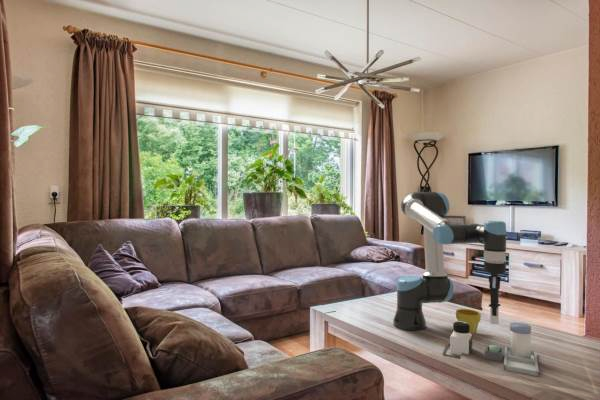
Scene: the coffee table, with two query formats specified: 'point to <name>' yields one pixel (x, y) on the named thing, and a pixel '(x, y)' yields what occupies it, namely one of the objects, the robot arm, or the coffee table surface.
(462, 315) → the plant pot
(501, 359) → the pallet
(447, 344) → the frame
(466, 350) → the medicine bottle
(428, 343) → the coffee table surface
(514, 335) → the cream and blue canister
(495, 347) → the button
